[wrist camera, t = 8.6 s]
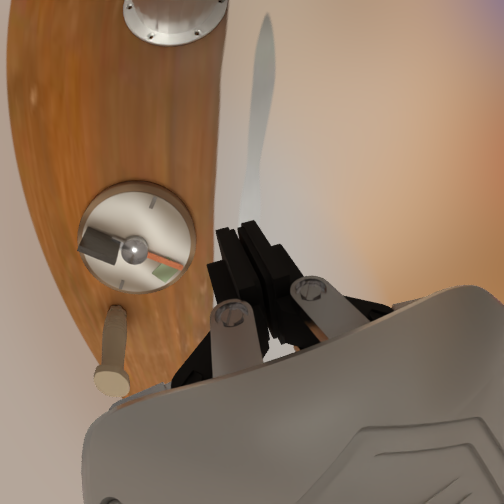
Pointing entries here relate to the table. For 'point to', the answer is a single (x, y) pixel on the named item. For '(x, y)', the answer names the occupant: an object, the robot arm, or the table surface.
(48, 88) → the table surface
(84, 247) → the dial pointer
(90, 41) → the table surface
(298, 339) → the robot arm
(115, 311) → the handle
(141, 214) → the base
